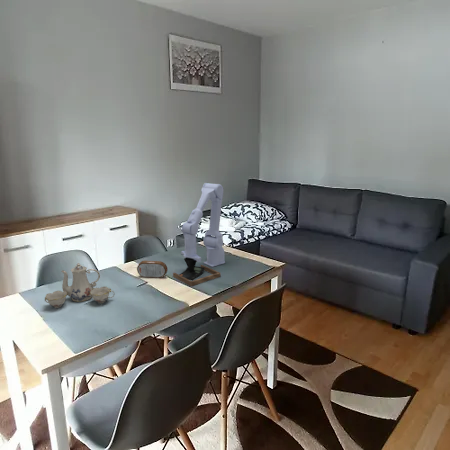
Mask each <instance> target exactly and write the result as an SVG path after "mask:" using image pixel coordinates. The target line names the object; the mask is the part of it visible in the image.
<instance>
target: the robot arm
mask: <svg viewBox="0 0 450 450" xmlns="http://www.w3.org/2000/svg"><path fill="white" fill-rule="evenodd" d="M200 190H201V195H200V196H199V197H200V198H199V200H198V203H197V204H196V205H197V206H196V208H193V209H192V210H191V213H190V215H189V216H188V219H187V220H186V222H184V223H183V224H182V226H181V232H182V235H183V237H184V239H183V240H184V250H181V251H180V255H182V257H183V258H184V259H183V260H184V262H185V263H186V264H185V265H186V266H187V267H188V270H189V272H193V271H194V267H195V266H196V264H197V263H200V262H202V257H201V256H200V255H198V254H197V233H198V231H199V227H200V222H201V220H202V218H203V215H204V213H203V211H204V210H205V208H206V205H208V202H209V201H211V206H210V215H209V218H210V219H209V227H208V230H207V231H206V232H205V233H204V237H203V240H202V242H203V245H204V246H205V248H206V261H203V264H204V265H207V266H208V267H212V268H213V267H216V266H220V265H223V264H225V263H226V261H225V249H224V248H223V245H224V239H223V237H224V235H223V234H222V232H220V224H221V223H220V222H221V213H222V203H223V199H224V187H223V185H222V184H220V183H208V182H204V183H203V185H202V187H201V189H200ZM187 267H186V268H187Z"/></svg>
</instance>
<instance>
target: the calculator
mask: <svg viewBox="0 0 450 450" xmlns="http://www.w3.org/2000/svg"><path fill="white" fill-rule="evenodd" d="M204 271H205V270H204V268H202V267H200V266H197V265H195V267H194V271H193V272H189V270H188V267H186V269H185V270H184V271H182V272H181V273H178V275H180V276H182V277H184V278H186V279H188V280H190V281H194V280H196V279H197V278H199V277H200V276H201V275H202V274H203V273H204Z"/></svg>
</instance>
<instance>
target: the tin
mask: <svg viewBox="0 0 450 450" xmlns="http://www.w3.org/2000/svg"><path fill="white" fill-rule="evenodd" d="M136 270H137V274H138V275H139V276H140V277H142V278H148V279H149V278H150V279H152V278H155V279H161V278H163V277H165V276H166V275H167V273H168V266H167V264H166V263H165V262H163V261H161V260H142V261H140V262H139V263H138V265H137V267H136Z"/></svg>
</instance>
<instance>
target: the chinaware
mask: <svg viewBox="0 0 450 450" xmlns="http://www.w3.org/2000/svg"><path fill="white" fill-rule="evenodd" d="M76 263H77V264H76V265H75V266H74V267H73V268H71V269H70V271H71V273H72V281H71V282H72V283H71V285H69V284H68V283H69V275H68V272H67V271H65V270H61V272H62V274H63V279H62V283H61V284H62V287H61V288H62V290H55V291H53V292H51V293H50V292H49V293H46V294H45V297H44V301H45V302H46V303H47V304H49V305H50V306H51V307H53V308H55V309H59V308H61V307H62V306H63V304H64V303H65V301H66V299H67V296H68V297H70V298H71V300H72V301H73V302H75V303H76V302H77V303H79V302H85V301H88V300H91V299H93V300H94V301H95V302H97V304H104V303H106V301H109V299H110V298H114V297H115V295H116V294H115V291H114V290H112V289H111V288H110V287H107V286H101V287H97V282H98V281H99V280H100V278H101V277H100V276H101V275H100V272H99V271H98V270H97V269H96V268H95V269H94V268H89V269H87V268H88V267H87V266H83V265H82V264H80V263H79V262H76ZM91 271H94V272H96V273H97V275H98V278H97V279H96V280H94V281H92V282H90V281H89V279H88V277H87V274H91ZM110 293H113V295H112V296H110Z"/></svg>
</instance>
